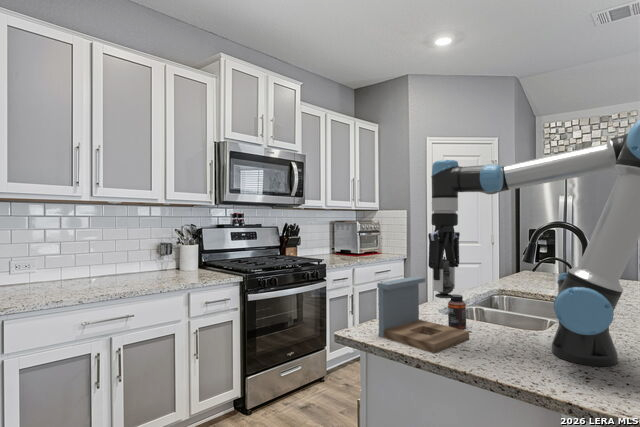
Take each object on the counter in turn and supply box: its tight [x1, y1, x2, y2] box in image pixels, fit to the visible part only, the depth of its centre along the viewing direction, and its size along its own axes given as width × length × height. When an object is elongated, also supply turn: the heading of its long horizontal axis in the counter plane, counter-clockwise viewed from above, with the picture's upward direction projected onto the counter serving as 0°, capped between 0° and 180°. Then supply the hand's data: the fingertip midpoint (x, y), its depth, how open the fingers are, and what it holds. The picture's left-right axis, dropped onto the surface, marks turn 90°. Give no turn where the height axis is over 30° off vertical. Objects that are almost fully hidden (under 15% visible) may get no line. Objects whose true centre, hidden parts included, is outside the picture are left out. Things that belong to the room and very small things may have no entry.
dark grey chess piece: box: [434, 256, 456, 299], centre depth 117 cm, size 6×6×12 cm
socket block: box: [383, 319, 470, 354], centre depth 125 cm, size 19×19×2 cm
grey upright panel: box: [376, 276, 426, 339], centre depth 132 cm, size 4×20×18 cm, turn 130°
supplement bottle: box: [447, 293, 467, 330], centre depth 137 cm, size 6×6×11 cm
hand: (444, 289), depth 117 cm, fingers closed on dark grey chess piece, 6 cm apart
